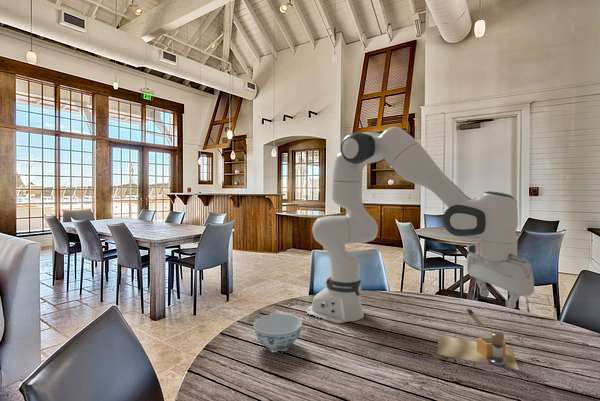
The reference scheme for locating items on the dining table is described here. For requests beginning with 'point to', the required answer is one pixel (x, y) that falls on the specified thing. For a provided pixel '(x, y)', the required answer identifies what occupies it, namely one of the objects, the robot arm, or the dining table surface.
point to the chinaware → (277, 331)
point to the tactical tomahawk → (474, 317)
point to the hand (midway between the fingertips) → (496, 300)
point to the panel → (470, 351)
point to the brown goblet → (497, 349)
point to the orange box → (487, 347)
